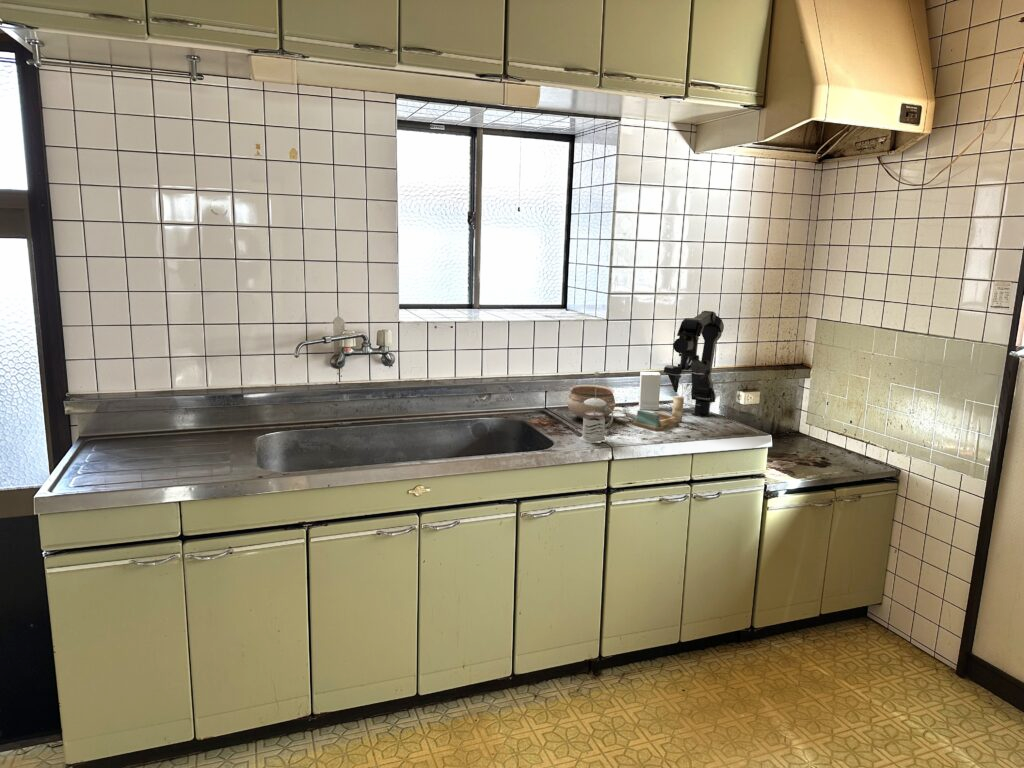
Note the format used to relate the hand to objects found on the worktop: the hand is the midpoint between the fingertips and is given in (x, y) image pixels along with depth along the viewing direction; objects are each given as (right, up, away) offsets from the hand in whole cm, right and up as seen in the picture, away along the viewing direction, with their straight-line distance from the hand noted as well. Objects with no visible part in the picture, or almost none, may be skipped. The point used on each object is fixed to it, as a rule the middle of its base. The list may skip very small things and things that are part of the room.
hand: (684, 391), depth 274 cm
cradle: (-10, -13, +4) cm, 17 cm away
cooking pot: (-36, -11, +9) cm, 38 cm away
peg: (-1, -12, +10) cm, 16 cm away
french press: (-37, -17, -19) cm, 45 cm away
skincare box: (-8, -8, +30) cm, 32 cm away
